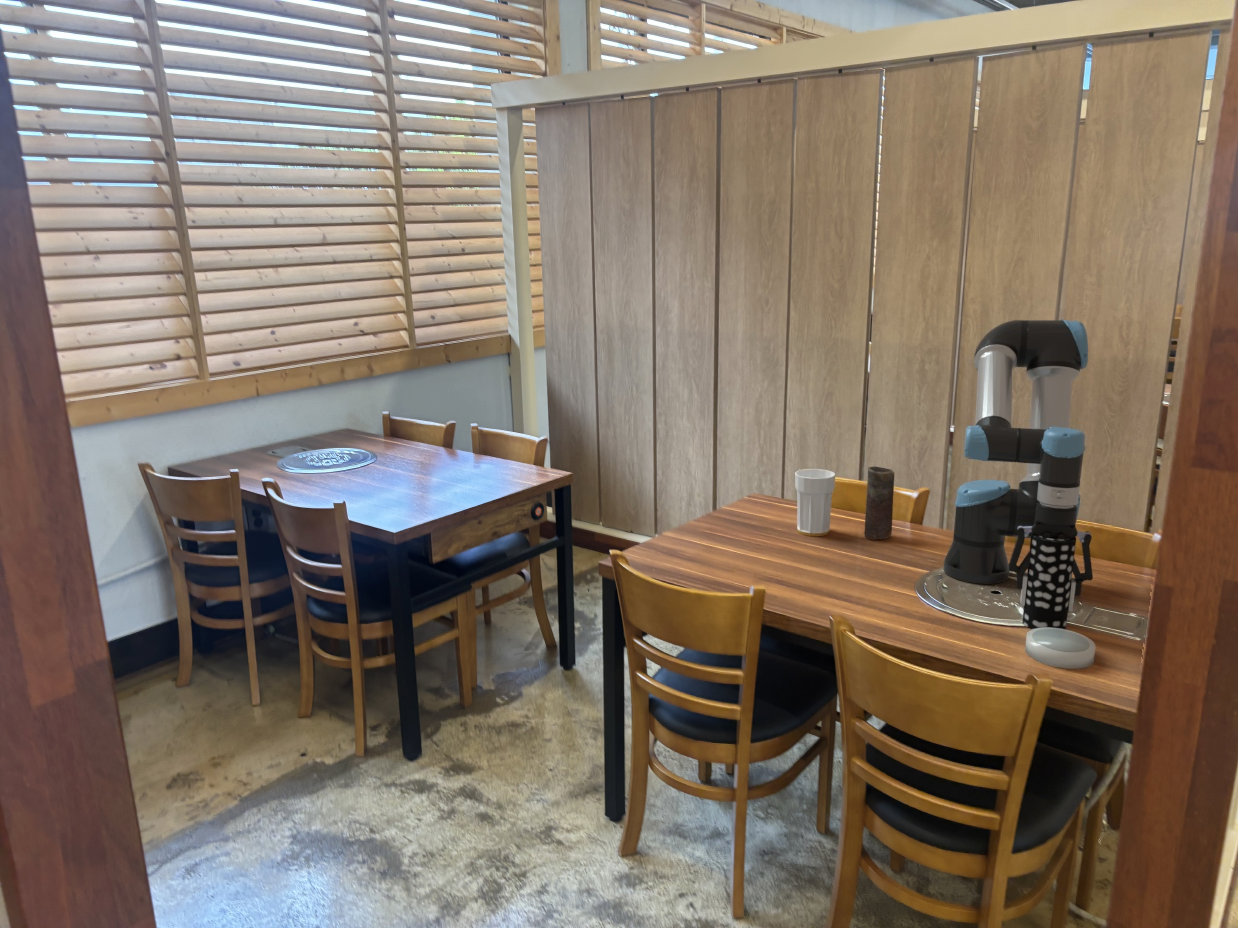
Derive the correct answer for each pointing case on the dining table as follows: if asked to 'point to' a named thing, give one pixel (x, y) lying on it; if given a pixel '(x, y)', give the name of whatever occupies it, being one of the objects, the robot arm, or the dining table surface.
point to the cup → (814, 501)
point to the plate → (1060, 648)
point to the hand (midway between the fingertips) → (1045, 605)
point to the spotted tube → (1048, 582)
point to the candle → (879, 503)
